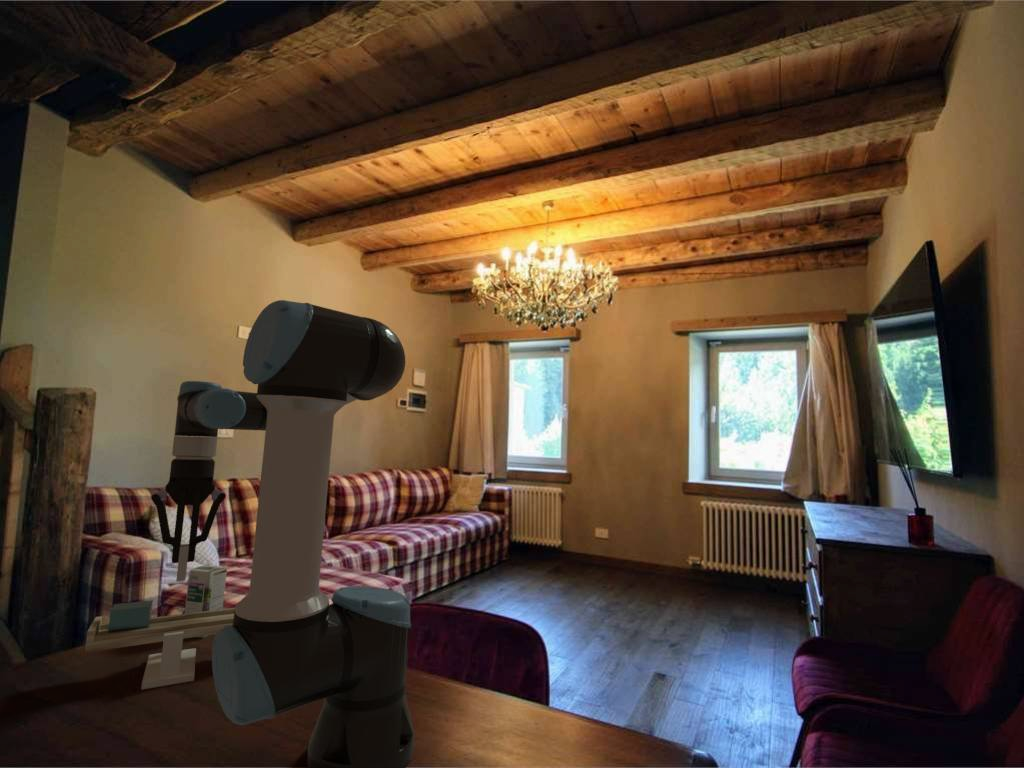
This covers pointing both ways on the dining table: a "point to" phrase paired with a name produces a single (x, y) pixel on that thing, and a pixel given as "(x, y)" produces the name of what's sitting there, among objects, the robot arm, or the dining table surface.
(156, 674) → the pivot stand
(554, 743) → the dining table surface
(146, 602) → the rider
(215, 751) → the dining table surface
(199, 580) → the syrup box
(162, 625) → the balance beam
